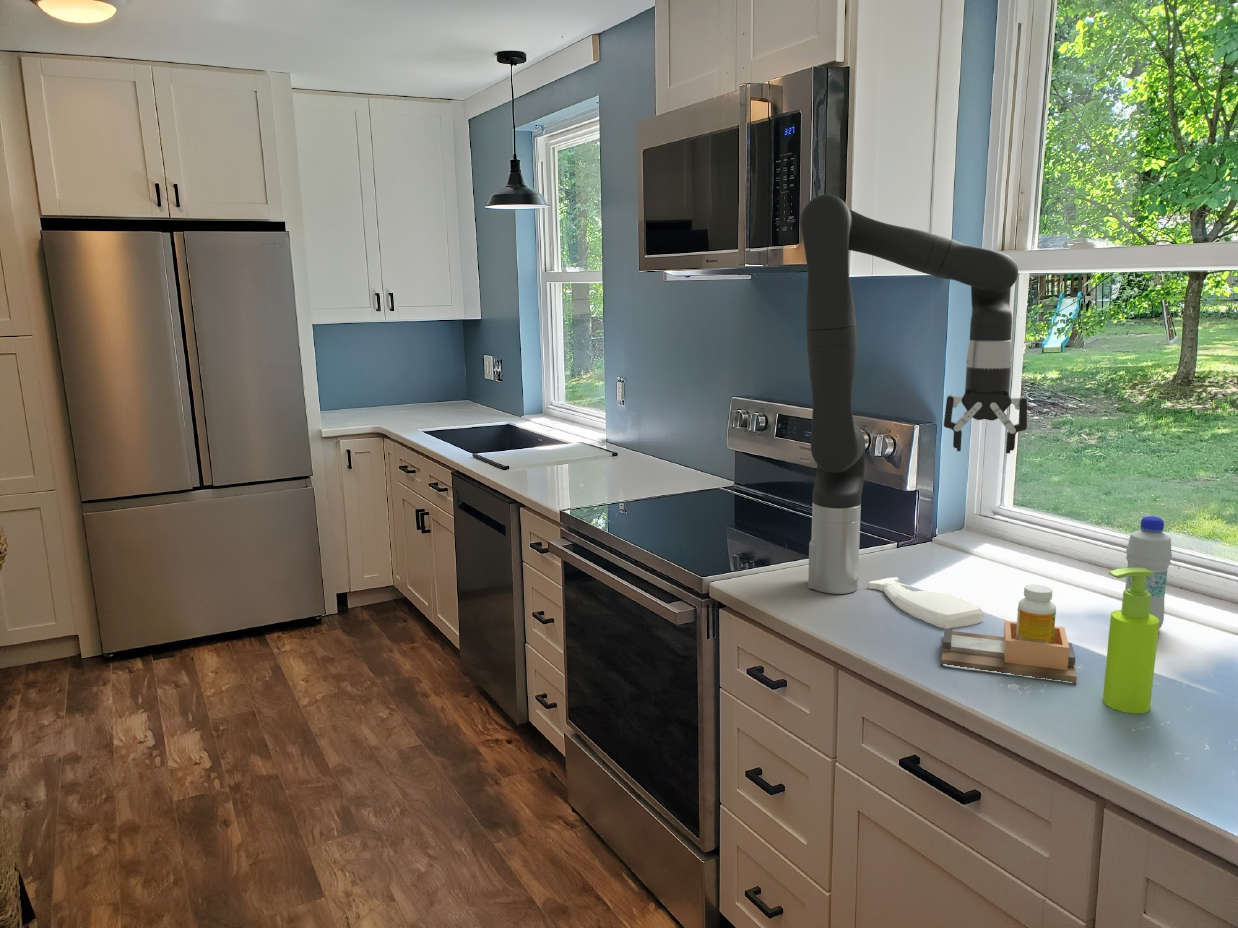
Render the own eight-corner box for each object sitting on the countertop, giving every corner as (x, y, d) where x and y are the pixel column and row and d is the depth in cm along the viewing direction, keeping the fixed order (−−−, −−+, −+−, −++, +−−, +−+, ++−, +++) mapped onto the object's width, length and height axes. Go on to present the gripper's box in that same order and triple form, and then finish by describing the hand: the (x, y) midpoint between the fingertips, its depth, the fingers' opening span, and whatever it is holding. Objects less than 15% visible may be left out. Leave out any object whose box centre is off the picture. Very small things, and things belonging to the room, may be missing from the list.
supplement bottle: (1056, 654, 138) (1061, 594, 136) (1019, 652, 139) (1023, 593, 137) (1048, 641, 143) (1052, 583, 141) (1012, 639, 144) (1016, 581, 143)
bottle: (1158, 623, 157) (1170, 513, 153) (1168, 637, 151) (1180, 522, 147) (1115, 619, 159) (1126, 510, 155) (1123, 633, 153) (1134, 520, 149)
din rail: (942, 650, 144) (943, 641, 144) (944, 637, 149) (944, 628, 149) (1074, 667, 137) (1075, 657, 137) (1071, 652, 142) (1071, 643, 142)
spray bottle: (940, 633, 155) (855, 592, 178) (990, 623, 159) (901, 584, 182) (941, 617, 155) (856, 577, 178) (991, 607, 159) (901, 570, 181)
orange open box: (1004, 662, 139) (1005, 640, 139) (1003, 641, 147) (1004, 620, 147) (1067, 669, 136) (1069, 647, 135) (1062, 648, 144) (1064, 627, 143)
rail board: (941, 666, 141) (941, 659, 141) (944, 636, 153) (944, 630, 153) (1076, 684, 134) (1076, 676, 134) (1068, 651, 146) (1069, 644, 146)
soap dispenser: (1087, 696, 130) (1099, 564, 126) (1132, 693, 131) (1145, 562, 127) (1112, 715, 124) (1125, 577, 120) (1159, 712, 125) (1174, 575, 121)
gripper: (1030, 363, 165) (1023, 450, 168) (947, 362, 170) (943, 446, 174) (1032, 367, 158) (1025, 457, 162) (946, 366, 164) (941, 453, 167)
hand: (982, 451), depth 168 cm, fingers open, 8 cm apart
